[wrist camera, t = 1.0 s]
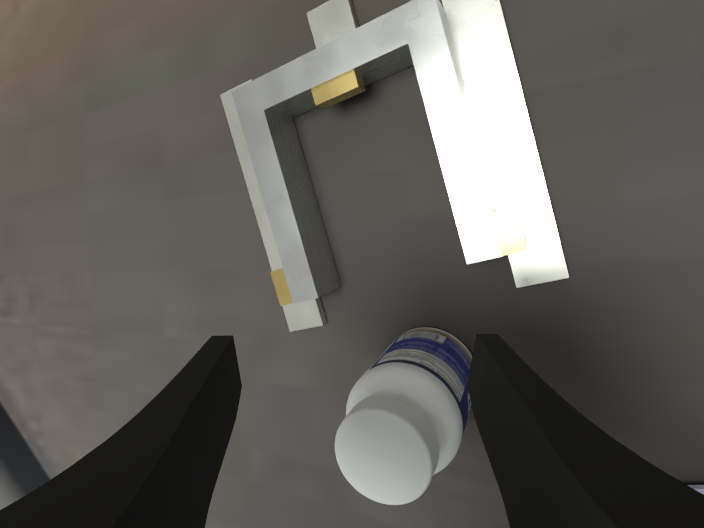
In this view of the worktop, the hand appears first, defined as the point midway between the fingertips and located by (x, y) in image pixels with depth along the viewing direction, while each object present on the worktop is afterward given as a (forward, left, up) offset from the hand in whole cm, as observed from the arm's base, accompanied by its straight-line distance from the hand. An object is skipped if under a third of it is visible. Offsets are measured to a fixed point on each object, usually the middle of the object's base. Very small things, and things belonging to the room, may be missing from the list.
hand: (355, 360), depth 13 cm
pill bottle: (-5, +2, -12) cm, 13 cm away
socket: (+7, +2, -12) cm, 14 cm away
